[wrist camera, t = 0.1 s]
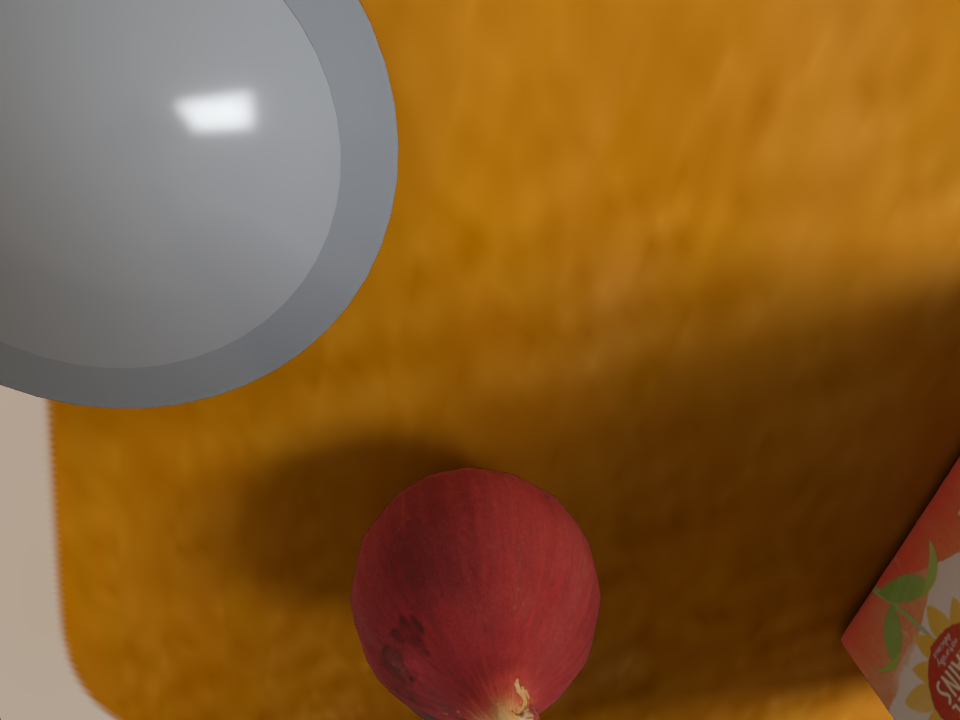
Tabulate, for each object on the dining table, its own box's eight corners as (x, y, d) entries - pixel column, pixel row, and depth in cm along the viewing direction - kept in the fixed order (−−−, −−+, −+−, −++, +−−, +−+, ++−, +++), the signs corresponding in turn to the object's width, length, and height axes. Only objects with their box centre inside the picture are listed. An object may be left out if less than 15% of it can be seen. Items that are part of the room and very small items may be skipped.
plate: (430, 339, 23) (436, 366, 21) (-65, 422, 22) (-92, 456, 21) (339, -231, 17) (340, -242, 16) (-332, -148, 16) (-391, -151, 15)
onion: (434, 615, 27) (469, 874, 20) (304, 492, 24) (291, 739, 17) (599, 508, 26) (697, 739, 19) (481, 368, 23) (545, 575, 16)
